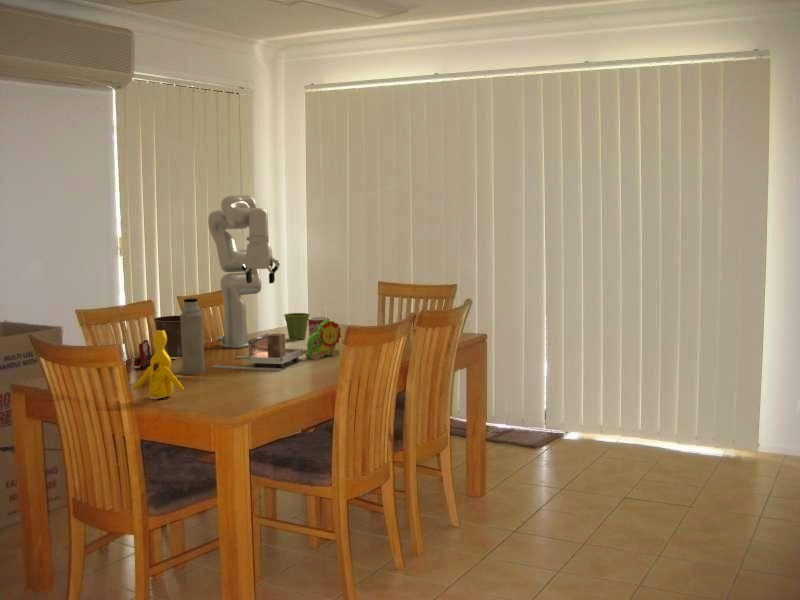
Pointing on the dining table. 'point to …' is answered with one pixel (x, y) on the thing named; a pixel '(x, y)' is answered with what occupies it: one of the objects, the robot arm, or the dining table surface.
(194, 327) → the thermos bottle
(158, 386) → the figure statuette
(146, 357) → the toy fire truck
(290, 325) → the plant pot
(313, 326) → the mug
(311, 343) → the toy lion
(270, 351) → the walnut block
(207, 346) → the dining table surface
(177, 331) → the plant pot
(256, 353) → the grey l-shaped piece
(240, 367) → the grey flat rectangular piece
